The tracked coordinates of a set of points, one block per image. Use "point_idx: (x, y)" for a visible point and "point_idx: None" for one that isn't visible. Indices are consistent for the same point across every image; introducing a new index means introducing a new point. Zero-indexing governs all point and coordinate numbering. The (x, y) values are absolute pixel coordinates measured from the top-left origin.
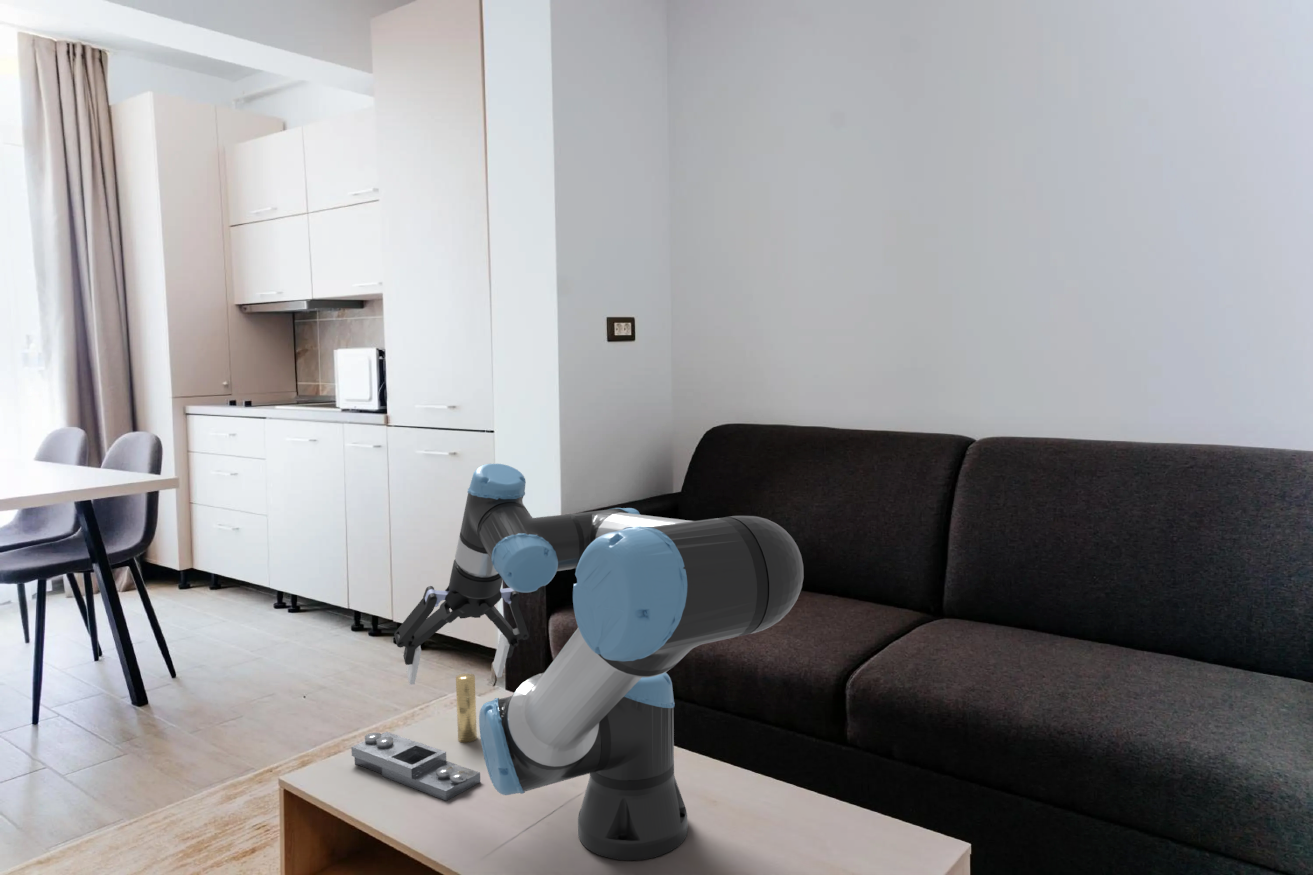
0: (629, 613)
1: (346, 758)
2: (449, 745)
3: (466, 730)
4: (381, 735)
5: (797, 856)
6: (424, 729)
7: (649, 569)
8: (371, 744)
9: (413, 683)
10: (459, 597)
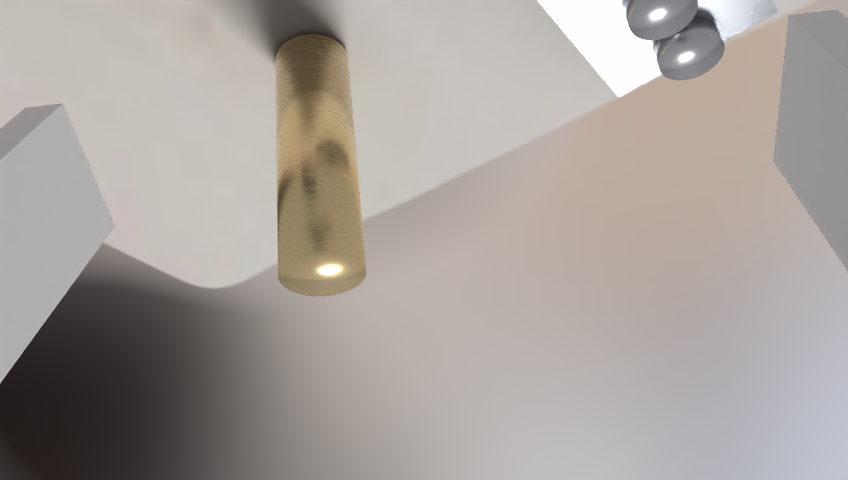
0: None
1: None
2: (381, 31)
3: (316, 69)
4: (644, 73)
5: None
6: (456, 148)
7: None
8: (703, 12)
9: (804, 14)
10: None
